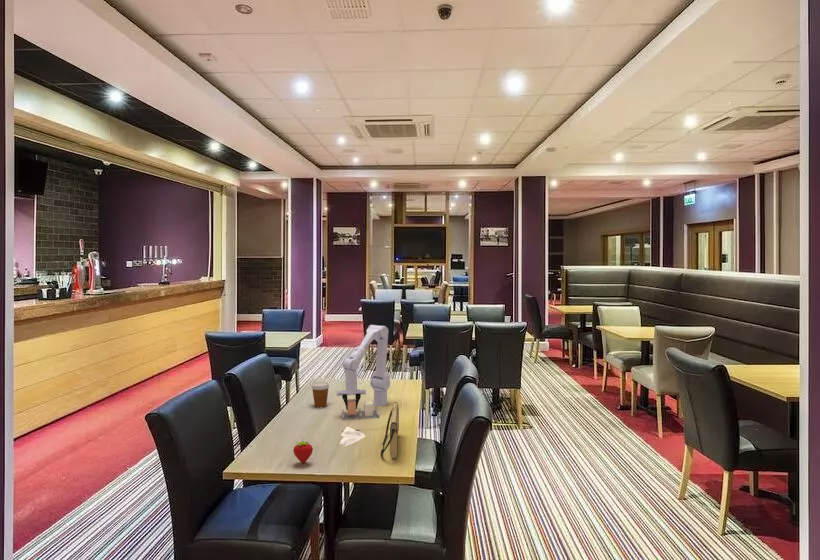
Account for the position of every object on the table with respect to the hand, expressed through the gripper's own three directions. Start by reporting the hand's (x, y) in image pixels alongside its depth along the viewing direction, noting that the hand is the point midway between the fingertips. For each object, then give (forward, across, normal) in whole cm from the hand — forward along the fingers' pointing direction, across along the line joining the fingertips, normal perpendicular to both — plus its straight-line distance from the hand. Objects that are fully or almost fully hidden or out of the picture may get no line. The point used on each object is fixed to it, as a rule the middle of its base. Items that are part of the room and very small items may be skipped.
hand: (351, 409), depth 231 cm
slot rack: (+4, +4, 0) cm, 6 cm away
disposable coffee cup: (+4, -16, +22) cm, 27 cm away
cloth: (+5, -1, -25) cm, 25 cm away
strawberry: (+4, -21, -50) cm, 54 cm away
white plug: (+3, +8, 0) cm, 9 cm away
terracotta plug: (+2, 0, 0) cm, 2 cm away
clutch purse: (+4, +14, -40) cm, 43 cm away
